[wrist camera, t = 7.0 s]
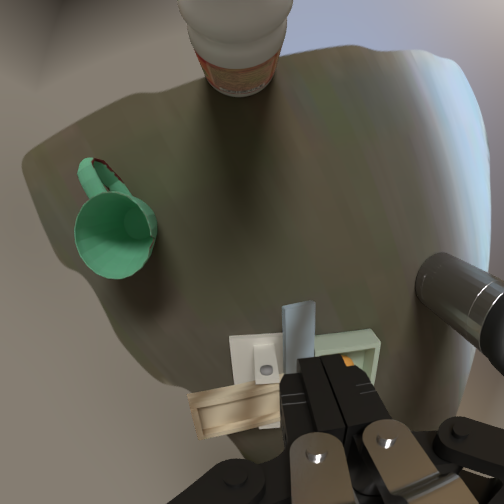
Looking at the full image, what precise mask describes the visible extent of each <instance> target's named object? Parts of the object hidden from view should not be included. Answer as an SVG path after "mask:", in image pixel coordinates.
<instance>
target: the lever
mask: <svg viewBox="0 0 504 504" xmlns="http://www.w3.org/2000/svg"><path fill="white" fill-rule="evenodd" d="M282 327H283V373H282V374H279V379H280V381H281V379H282V377H283V375H284V374H291V373H296V365H297V359H299V358H308V357H314V339H315V302H314V301H312V300H309V301H304V302H300V303H295V304H290V305H285V306H282ZM187 397H188V401H189V405H190V409H191V413H192V418H193V421H194V425H195V429H196V433H197V437H198V440H203V439H207V438H211V437H217V436H221V435H226V434H231V433H235V432H239V431H244V430H248V429H252V428H256V427H259V426H263V425H267V424H270V423H274V422H277V421H281V419H280V398H279V383H270V384H256V382H255V380H254V381H250V382H246V383H241V384H237V385H232V386H227V387H222V388H217V389H212V390H207V391H202V392H196V393H191V394H187Z"/></svg>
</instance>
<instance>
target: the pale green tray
mask: <svg viewBox="0 0 504 504" xmlns="http://www.w3.org/2000/svg"><path fill="white" fill-rule="evenodd" d="M380 345H381V342H380V340H379V339H378V338H377V336H376V335H375V334H374V332H373V331H372V330H371V328H370V329H363V330H356V331H348V332H340V333H331V334H323V335H315V339H314V357H317V356H318V357H319V356H324V355H332V354H341V355H344V356H347V357H349V358H350V359H351V360H352V361H353V363H354V365H356V366H358V367H359V368H360V369H362V370H363V371H365V372H366V374H367V376H368V377H369V379H370V381H371V384H373V386H374V382H375V376H376V370H377V365H378V358H379V352H380Z"/></svg>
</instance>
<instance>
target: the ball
mask: <svg viewBox="0 0 504 504" xmlns="http://www.w3.org/2000/svg"><path fill="white" fill-rule="evenodd" d="M341 356H342V358H343V360H344V362H345V364H346V366H352V365H354V363H353V361H352V360H351V359H350V358H349V357H347V356H344V355H341Z"/></svg>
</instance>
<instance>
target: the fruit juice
mask: <svg viewBox="0 0 504 504" xmlns="http://www.w3.org/2000/svg"><path fill="white" fill-rule="evenodd" d="M177 3H178V7H179V11H180V13H181V16H182V17H183V19H184V20H185V22H186V23H187V30H188V35H189V38H190V42H191V44H192V46H193V48H194V50H195V53H196V55H197V57H198V60H199V62H200V65H201V67H202V69H203V72H204V74H205V77H206V79H207V80H208V82H209V83H210V85H211V86H212V87H213V88H215V89H216V90H217V91H219V92H220V93H222V94H225V95H228V96H232V97H246V96H250V95H253V94H256V93H258V92H259V91H261V90H262V89H264V88H265V87H266V86H267V85H268V84H269V82H270V81H271V79H272V78H273V75H274V73H275V69H276V66H277V62H278V59H279V55H280V51H281V48H282V45H283V41H284V39H285V34H286V28H287V16H288V14H289V13H290V11H291V8H292V4H293V0H177Z"/></svg>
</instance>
